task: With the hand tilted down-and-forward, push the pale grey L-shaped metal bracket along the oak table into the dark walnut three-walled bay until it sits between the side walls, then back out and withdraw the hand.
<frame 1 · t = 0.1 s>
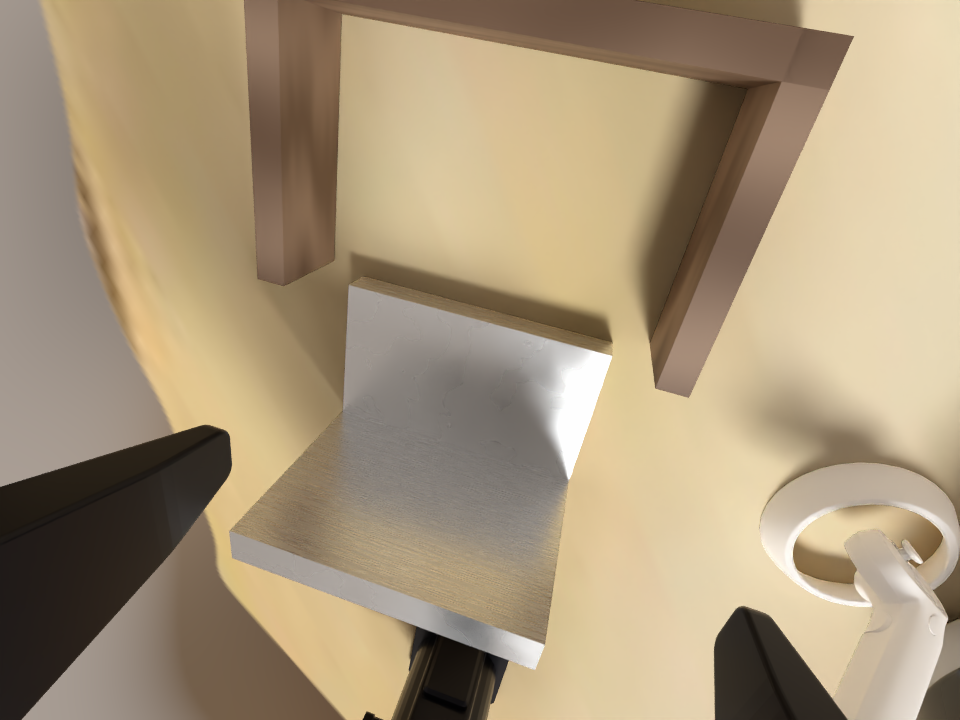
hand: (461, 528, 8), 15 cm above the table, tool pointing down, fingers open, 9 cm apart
bay: (509, 171, 20), on the table
hook: (849, 525, 23), on the table
bracket: (456, 450, 27), on the table
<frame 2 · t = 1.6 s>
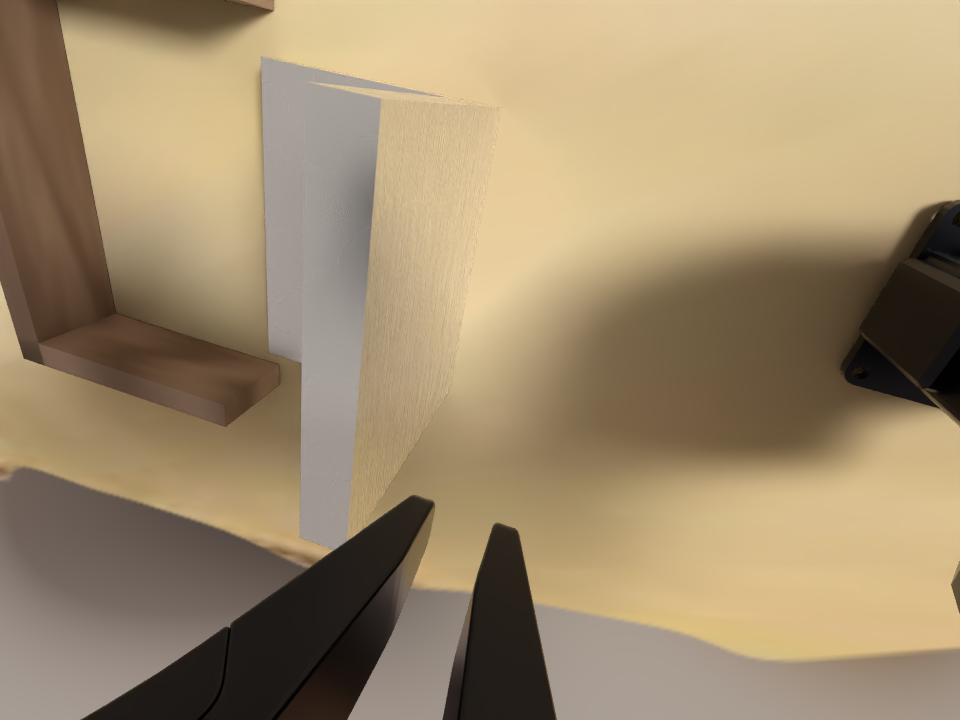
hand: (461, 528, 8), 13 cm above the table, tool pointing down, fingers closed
bay: (165, 187, 22), on the table
bracket: (472, 268, 20), on the table
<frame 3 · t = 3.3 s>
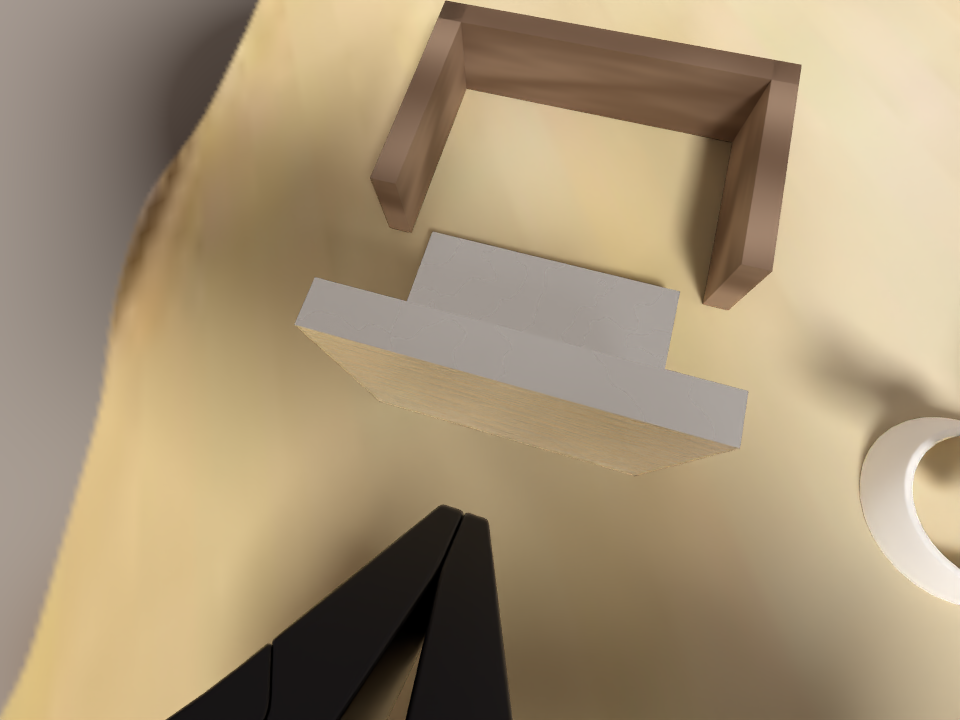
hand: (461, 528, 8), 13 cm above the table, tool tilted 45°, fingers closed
bay: (577, 176, 26), on the table
hook: (949, 507, 21), on the table
bracket: (503, 437, 22), on the table
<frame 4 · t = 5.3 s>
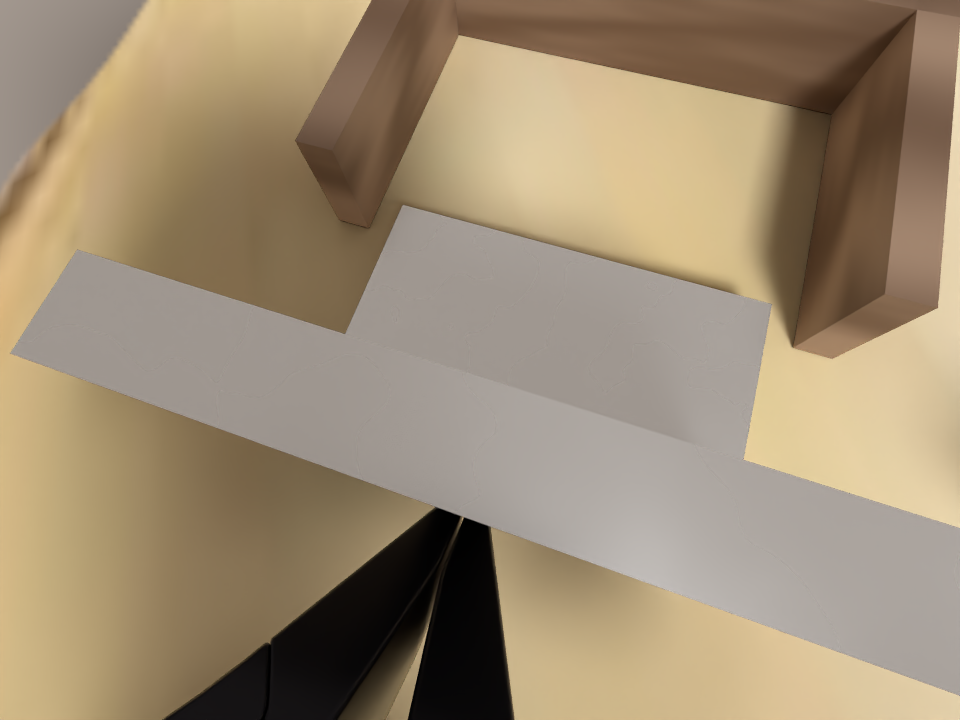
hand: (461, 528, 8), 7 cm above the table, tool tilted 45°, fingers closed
bay: (608, 155, 18), on the table
bracket: (493, 517, 15), on the table, touching gripper
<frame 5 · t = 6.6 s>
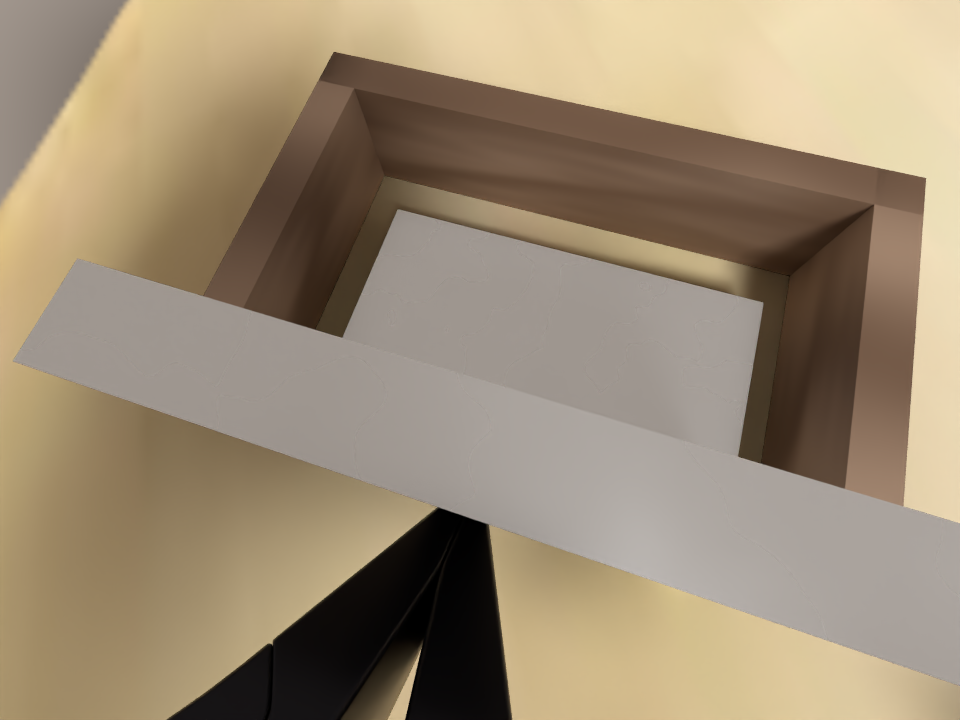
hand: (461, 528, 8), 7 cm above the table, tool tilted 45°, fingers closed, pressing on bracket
bay: (543, 325, 17), on the table
bracket: (492, 518, 15), on the table, touching gripper
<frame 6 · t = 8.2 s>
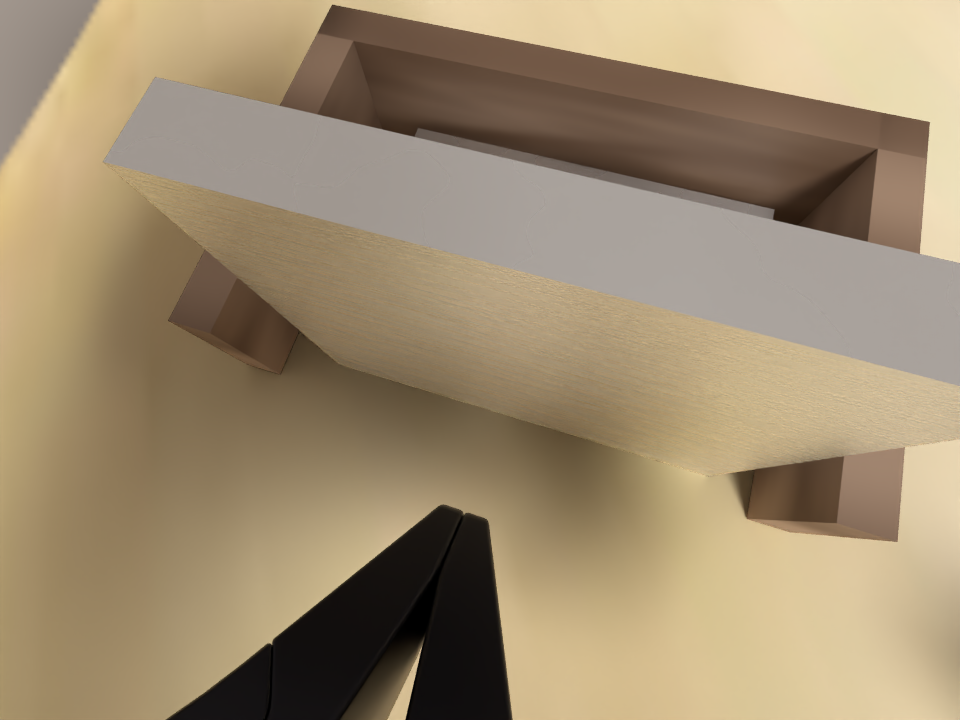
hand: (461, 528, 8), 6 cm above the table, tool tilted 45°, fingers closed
bay: (546, 283, 17), on the table
bracket: (514, 418, 15), on the table
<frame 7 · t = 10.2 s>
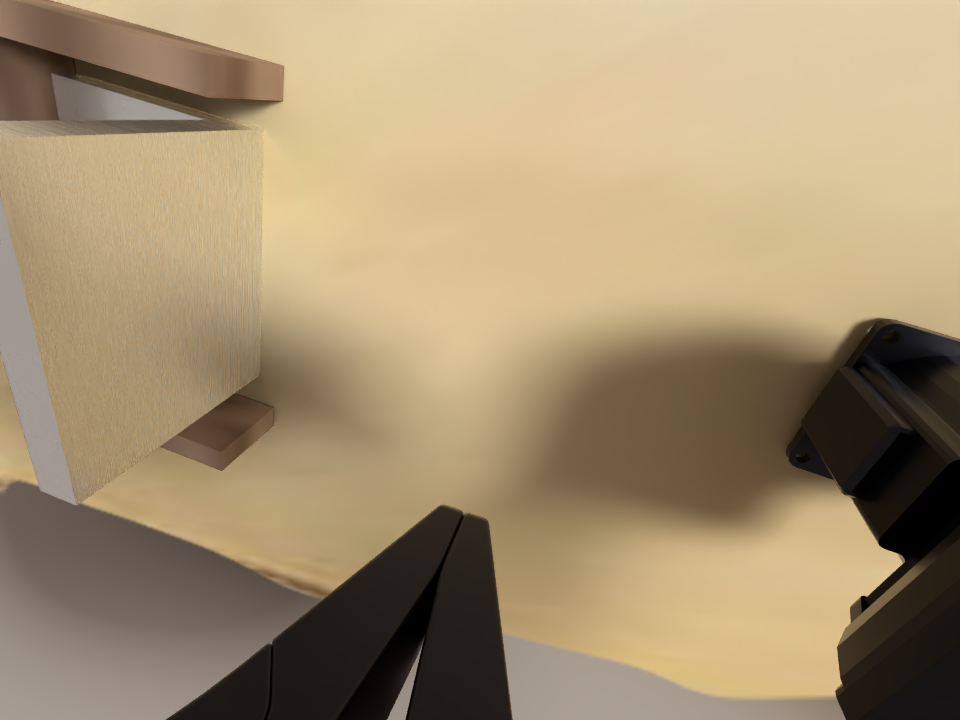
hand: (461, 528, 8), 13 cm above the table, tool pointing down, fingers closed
bay: (172, 243, 23), on the table
bracket: (262, 267, 23), on the table
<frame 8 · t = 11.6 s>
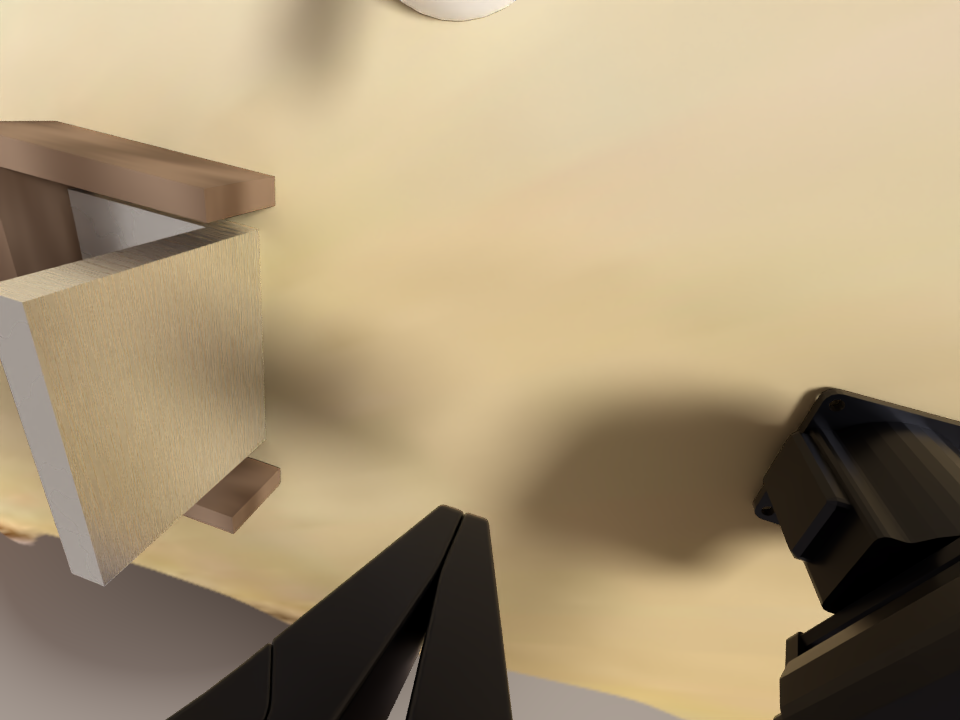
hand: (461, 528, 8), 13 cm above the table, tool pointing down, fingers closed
bay: (181, 326, 25), on the table
bracket: (263, 345, 25), on the table
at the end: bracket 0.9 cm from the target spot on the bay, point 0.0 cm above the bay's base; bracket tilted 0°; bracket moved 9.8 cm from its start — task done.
